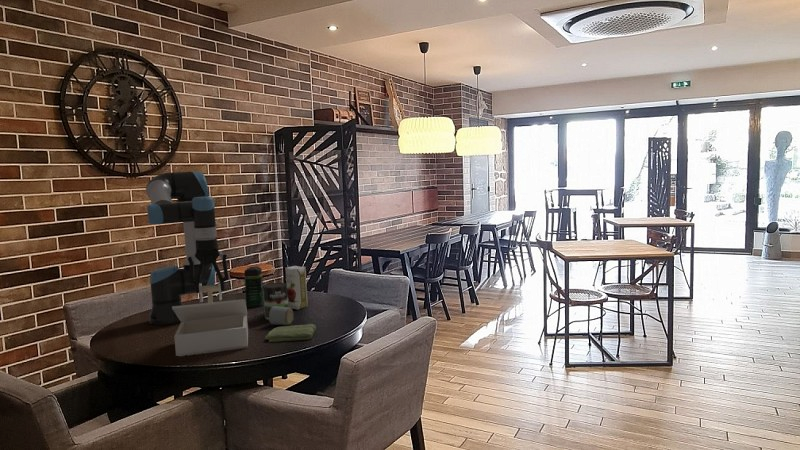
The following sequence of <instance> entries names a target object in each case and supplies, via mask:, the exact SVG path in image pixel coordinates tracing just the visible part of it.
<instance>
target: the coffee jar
mask: <svg viewBox="0 0 800 450" xmlns="http://www.w3.org/2000/svg"><path fill="white" fill-rule="evenodd" d="M262 272H263V270H262V267H259V266H257V265H256V266H255V265H254V266H249V267H248V268H246V269H245V270H244V272H243V273H244V284H245V285H244V286H245V303H246V308H247V307H248V308H249V307H250V308H257V307H261V306H264V292H263V286H264V285H263V273H262Z"/></svg>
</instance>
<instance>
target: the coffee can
mask: <svg viewBox="0 0 800 450" xmlns="http://www.w3.org/2000/svg"><path fill="white" fill-rule="evenodd" d="M263 298H264V303H263V306H264V307H263V308H264V319H266V320H268V321H269V312H270V309H271V308H272V307H273V306H280V307H288V297H287V284H286V283H285V282H271V283H270V282H269V283H266V284H264V285H263Z"/></svg>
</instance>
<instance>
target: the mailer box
mask: <svg viewBox="0 0 800 450" xmlns="http://www.w3.org/2000/svg"><path fill="white" fill-rule="evenodd" d="M179 323H180V324H179V326H178V328H177V330H176V332H175V334H174V336H173V338H174V347H175V357H176V356H179V357H185V355H187V356H192V355H193V356H194V354H195V355H202V353H203V354H210V353H218V352H224V351H226V352H227V351H235V350H241V349H243V350H244V349H248V347H249V325H248V314H245V315H236V316H226V317H217V318H208V319H199V320H190V321H181V322H179Z"/></svg>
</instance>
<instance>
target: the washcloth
mask: <svg viewBox="0 0 800 450" xmlns="http://www.w3.org/2000/svg"><path fill="white" fill-rule="evenodd" d="M316 330H317V326H316V325H315V324H313V323H307V324H297V325H296V324H295V325H282V326H278V327H275V328H273V329H272V330H270V331H268V334H267V335H265V340H268V342H269V343H273V342H274V343H277V342H288V341H289V342H291V341H292V342H293V341H304V340H305V341H306V340H307V341H309V340H311V339H312V338H313V336H314V333H315V332H316Z"/></svg>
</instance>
